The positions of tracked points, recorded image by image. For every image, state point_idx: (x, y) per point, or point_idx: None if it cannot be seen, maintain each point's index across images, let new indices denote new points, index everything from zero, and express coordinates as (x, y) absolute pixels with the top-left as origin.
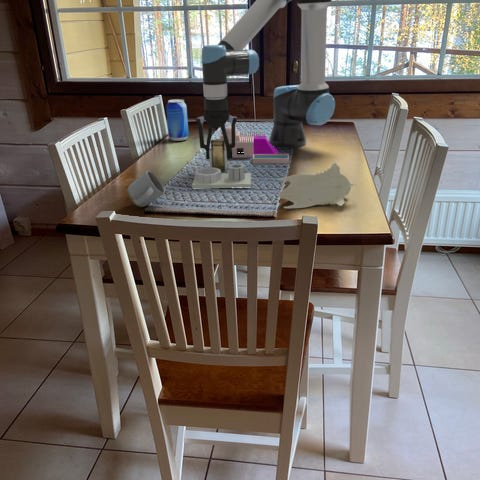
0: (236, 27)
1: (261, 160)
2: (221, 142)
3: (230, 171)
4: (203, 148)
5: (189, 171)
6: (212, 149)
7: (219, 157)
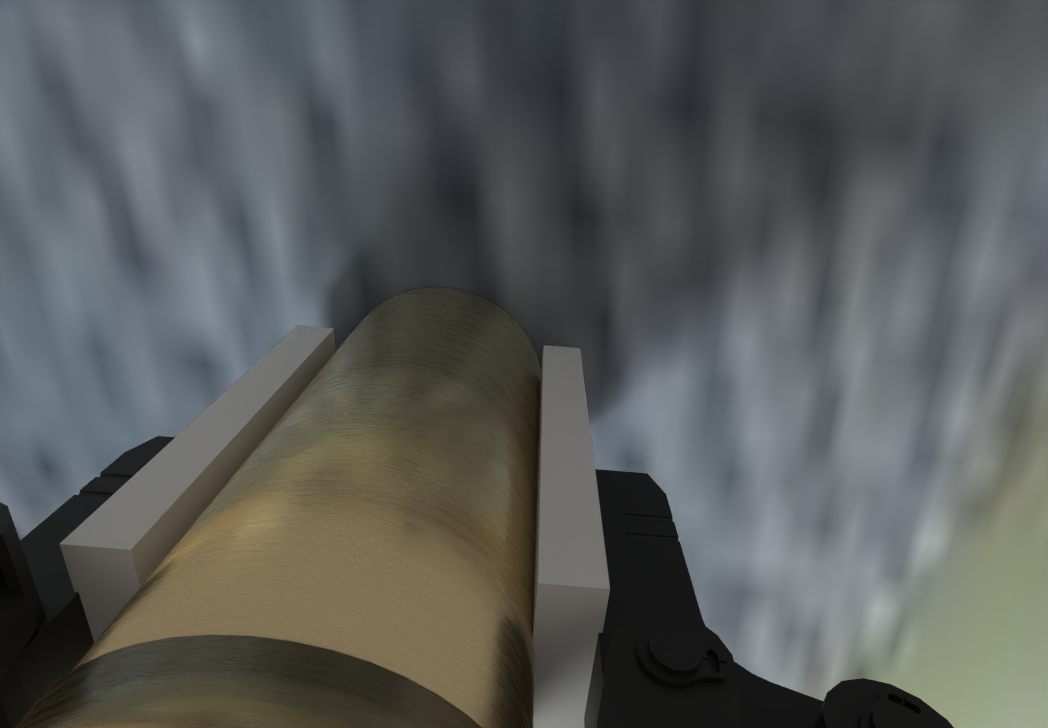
0: None
1: None
2: None
3: None
4: (797, 694)
5: (907, 369)
6: (497, 602)
7: (345, 397)
